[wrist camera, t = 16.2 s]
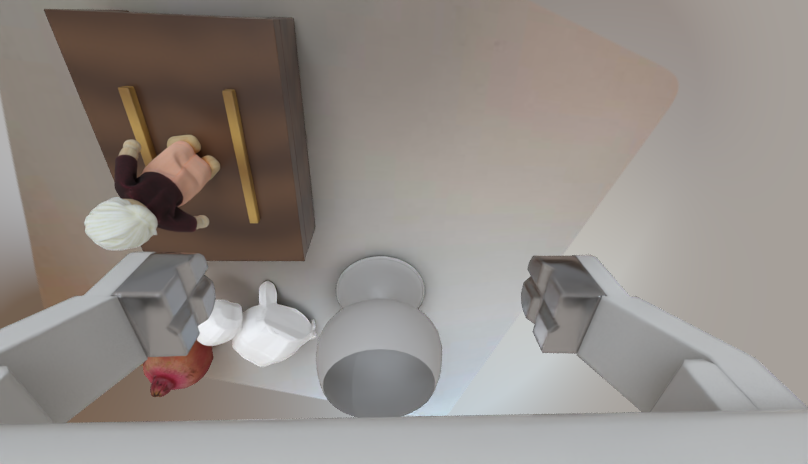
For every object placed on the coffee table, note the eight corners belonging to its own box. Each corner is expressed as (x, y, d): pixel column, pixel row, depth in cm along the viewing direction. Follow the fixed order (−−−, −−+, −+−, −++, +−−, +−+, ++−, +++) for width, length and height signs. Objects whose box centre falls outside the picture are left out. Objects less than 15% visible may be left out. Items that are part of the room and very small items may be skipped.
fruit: (217, 357, 55) (186, 420, 46) (160, 343, 53) (117, 406, 44) (228, 322, 51) (197, 384, 43) (168, 305, 49) (122, 367, 41)
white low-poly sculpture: (317, 296, 53) (220, 264, 43) (326, 348, 48) (218, 326, 37) (281, 325, 56) (181, 301, 46) (285, 378, 51) (173, 365, 40)
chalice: (395, 339, 55) (398, 438, 42) (311, 302, 50) (286, 402, 37) (451, 277, 49) (475, 371, 36) (363, 230, 44) (354, 318, 32)
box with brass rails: (107, 9, 31) (33, 8, 25) (293, 17, 32) (270, 19, 26) (179, 226, 43) (142, 265, 36) (315, 227, 44) (303, 265, 37)
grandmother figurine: (146, 143, 31) (17, 214, 20) (172, 113, 30) (50, 171, 19) (223, 204, 34) (148, 293, 23) (249, 179, 33) (183, 261, 22)
